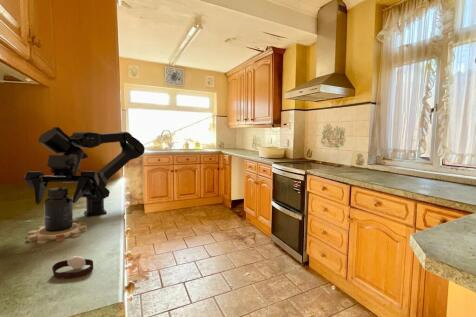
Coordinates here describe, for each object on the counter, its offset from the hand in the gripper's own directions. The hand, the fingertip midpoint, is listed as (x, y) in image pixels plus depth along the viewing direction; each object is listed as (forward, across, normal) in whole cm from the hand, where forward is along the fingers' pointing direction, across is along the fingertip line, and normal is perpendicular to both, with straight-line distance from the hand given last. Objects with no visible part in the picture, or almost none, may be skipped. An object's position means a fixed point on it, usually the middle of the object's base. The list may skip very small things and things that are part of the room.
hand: (55, 203), depth 70 cm
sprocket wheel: (+6, 0, +8) cm, 10 cm away
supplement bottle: (+5, 0, +7) cm, 8 cm away
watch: (+24, +13, -10) cm, 28 cm away
